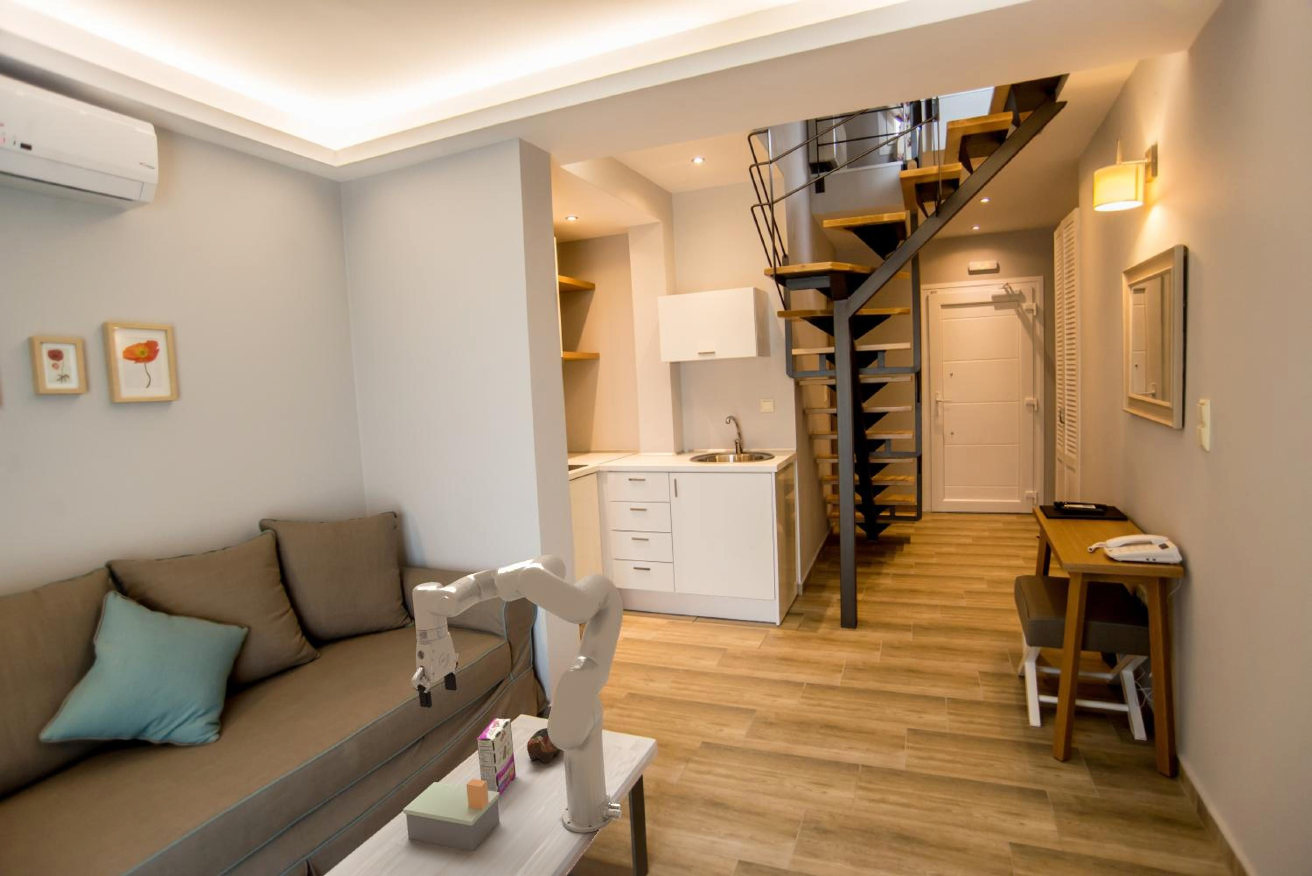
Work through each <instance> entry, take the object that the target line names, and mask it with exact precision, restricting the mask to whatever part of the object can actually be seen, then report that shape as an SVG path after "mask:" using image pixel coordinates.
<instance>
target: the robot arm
mask: <svg viewBox="0 0 1312 876" xmlns="http://www.w3.org/2000/svg"><path fill="white" fill-rule="evenodd" d="M566 573H567V568H566V565H565V562H564V561H563V560H562V559H561V558H560V557H559V556H557V555H554V554H544V555H540V556H536V557H532V558H530V559H529V558H528V559H526V560H522V561H519V562H515V563H513V564H511V563H510V564H508V565H504V566H501V567H494V568H490V569H486V570H482V571H478V572H475V573H473V574H469V575H466V576H462V577H461V578H458V579H457V580H455V581H453V582H451V583H449V584H448V585H445V586H443V584H442V583H440V582H438V581H437V582H435V581H430V582H424V583H420V584H418V585H416V586H414V587H413V589H412V603H413V612H414V621H415V622H414V623H415V631H416V633H415V634H416V636H415V638H416V641H417V642H416V647H415V649H416V650H415V664H416V666H415V667H416V668H415V669H416V671H415V673H414V675H413V676H412V678H411V679H410V683H411V685H412V686H413V690H415V691H416V693H418V697H419V706H420V707H421V708H427V709H429V708H432V707H433V702H432V701H433V700H432V692H431V690H430V687H431V686H432V685H431V684H432V683H436V682H439V680H441V679H442V678H443V679H444V689H445V690H447V691H453V692H455V691H456V690H457V689H458V688H457V678H456V675H457V672H458V671H457V669H458V666H459V657H460V654H459V652H458V653H457V652H455V647H454V643H453V639H452V636H451V633H450V632H449V631H448V629H449V628H448V620H447V618H453V617H457V616H458V615H460V614H462V613H463V612H465V611H466V610H468V609H469V608H470V607H472V606H474V605H476V604H478V603H480V602H484V601H487V600H491V599H495V598H501V599H502V600H503V601H505V602H513V601H516V600H519V599H523V598H525V599H526V600H528V601H529V602H531V603H532V604H534V605H536V606H537V607H539V608H541V609H543V610H545V611H547V612H548V613H550V614H553V615H555V616H556V617H558V618H559V619H561V620H564V621H566V622H567V623H570V624H575V625H581V624H585V623H586V624H585V626H584V629H583V630H582V631H583V633H582V636H581V639H580V640H581V641H580V642H579V647H578V651H577V652H576V655H575V657H574V658H573V660H572V661H571V662H570V663H569V665H568V666H567V667H566V668H565V669H564V671H563V673H562V674H561V675H560V678H559V680H558V683H557V685H556V689H555V694H554V695H553V696H554V697H553V700H552V703H551V704H552V705H551V708H550V712H549V715H548V719H547V727H546V728H547V731H548V736H549V738H550V740H551V742H552V743H553V745H554V746H556V747H557V748H559V749H561V750H560V751H563V763H564V777H565V786H566V787H565V790H566V803H567V804H566V805H567V806H566V807H565V808H564V810H563V811H562V814H561V821H562V825H564V827H565V828H566V829H568V830H569V831H572V832H575V833H580V834H581V833H583V834H586V833H593V832H595V831H598V830H601V829H603V828H604V827H606V826H607V825H609V824H610V823H611V822H612V820H613V819H619V820H621V818H622V815H623V811H622V809H621V808H622V805H621V804H619V803H613V802H612V800H611V795H610V794H607V789H606V788H607V787H606V775H605V774H606V771H605V759H604V746H603V745H604V742H603V740H604V739H603V726H604V725H603V724H604V723H603V722H604V709H603V708H604V707H603V702H602V700H601V698H600V696H599V695H600V693H601V692H602V691H603V689H604V687H606V684H607V682H608V681H609V679H610V674H611V668H612V665H613V660H614V657H615V654H616V648H617V645H618V641H619V638H620V637H619V636H620V633H621V628H622V624H623V618H624V606H623V604H624V603H623V600H622V596H621V594H620V591H619V589H618V588H617V586H616V584H614V583H613V581H612V580H611V579H610V578H608V576H605V575H603V574H600V573H589V574H587V575H585V576H583V577H581V578H580V579H579V580H577V581H576V582H575V583H574V584H573V583H571V582H569V581H567V580H565V578H566V576H567V575H566ZM424 683H425V686H424Z"/></svg>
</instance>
